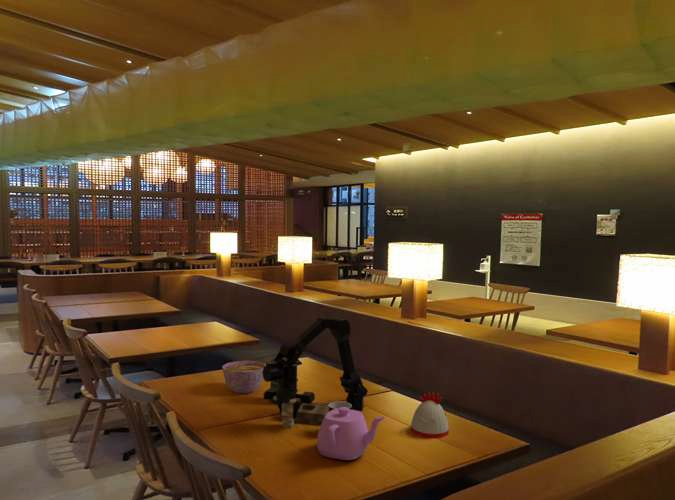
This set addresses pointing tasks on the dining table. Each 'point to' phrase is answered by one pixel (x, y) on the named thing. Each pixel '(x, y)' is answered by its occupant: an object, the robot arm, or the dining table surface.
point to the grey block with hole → (311, 413)
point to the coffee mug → (339, 405)
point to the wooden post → (288, 414)
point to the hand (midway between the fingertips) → (288, 418)
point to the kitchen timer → (430, 418)
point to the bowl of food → (243, 375)
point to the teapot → (345, 434)
